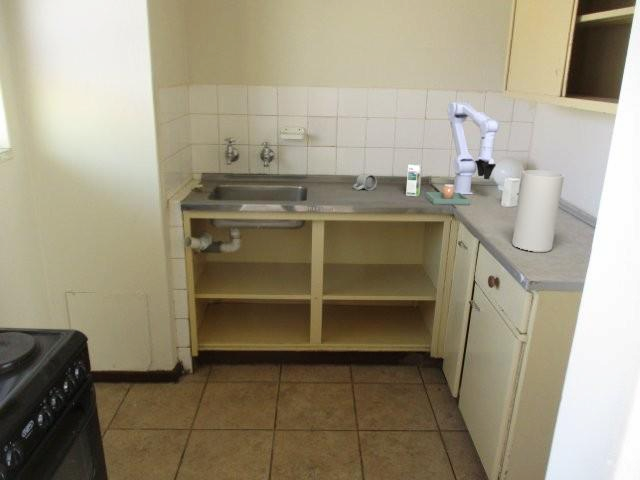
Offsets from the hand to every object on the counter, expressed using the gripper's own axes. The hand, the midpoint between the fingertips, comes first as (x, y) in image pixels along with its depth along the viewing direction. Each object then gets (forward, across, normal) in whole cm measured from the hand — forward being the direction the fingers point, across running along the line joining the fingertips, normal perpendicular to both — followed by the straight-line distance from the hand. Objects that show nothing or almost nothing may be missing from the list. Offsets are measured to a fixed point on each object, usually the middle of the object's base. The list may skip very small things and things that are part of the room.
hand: (483, 177), depth 239 cm
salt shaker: (+10, +4, -17) cm, 20 cm away
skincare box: (+11, +10, +9) cm, 17 cm away
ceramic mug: (+10, -20, -52) cm, 57 cm away
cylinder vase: (+12, +68, -7) cm, 70 cm away
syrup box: (+10, -8, -30) cm, 33 cm away
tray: (+10, +4, -17) cm, 20 cm away
